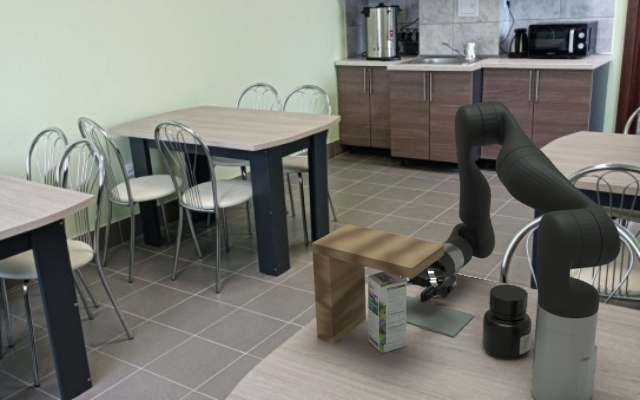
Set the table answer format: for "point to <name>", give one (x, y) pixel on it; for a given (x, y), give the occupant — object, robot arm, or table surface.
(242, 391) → the table surface
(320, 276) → the shelf
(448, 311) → the mat
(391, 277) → the syrup box
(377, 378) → the table surface
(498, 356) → the ink bottle
